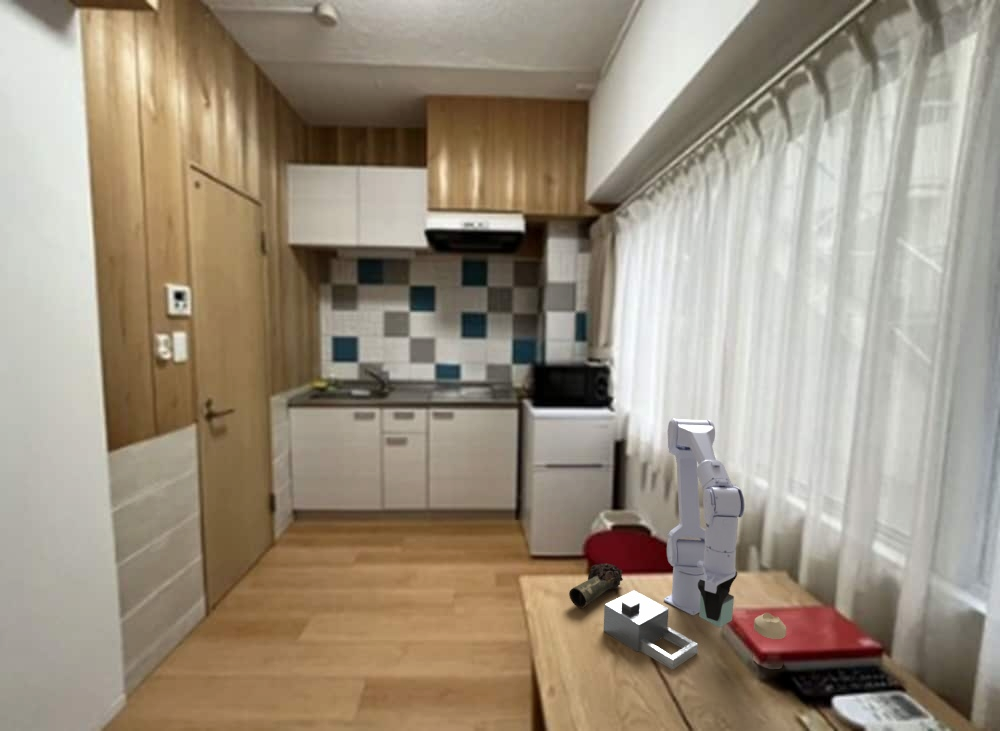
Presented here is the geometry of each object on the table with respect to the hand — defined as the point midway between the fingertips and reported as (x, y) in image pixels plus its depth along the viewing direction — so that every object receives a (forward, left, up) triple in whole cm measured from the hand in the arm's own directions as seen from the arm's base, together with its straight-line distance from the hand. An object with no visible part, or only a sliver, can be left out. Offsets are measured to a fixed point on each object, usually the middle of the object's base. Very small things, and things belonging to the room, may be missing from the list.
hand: (715, 611), depth 102 cm
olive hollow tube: (+9, -27, -12) cm, 31 cm away
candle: (-5, +8, -9) cm, 13 cm away
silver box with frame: (+8, -6, -9) cm, 13 cm away
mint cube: (0, 0, -2) cm, 2 cm away
